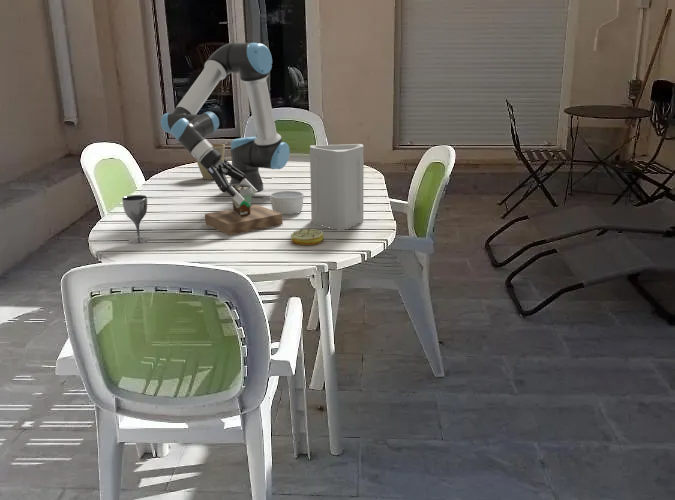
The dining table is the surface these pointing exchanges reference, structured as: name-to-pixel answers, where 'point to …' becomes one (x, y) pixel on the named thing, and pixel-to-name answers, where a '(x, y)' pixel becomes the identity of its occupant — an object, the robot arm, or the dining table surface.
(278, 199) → the ramekin
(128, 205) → the wine glass
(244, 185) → the food container
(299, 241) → the decorated donut
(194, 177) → the dining table surface
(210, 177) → the plant pot
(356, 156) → the white triangular vase
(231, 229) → the walnut stand
